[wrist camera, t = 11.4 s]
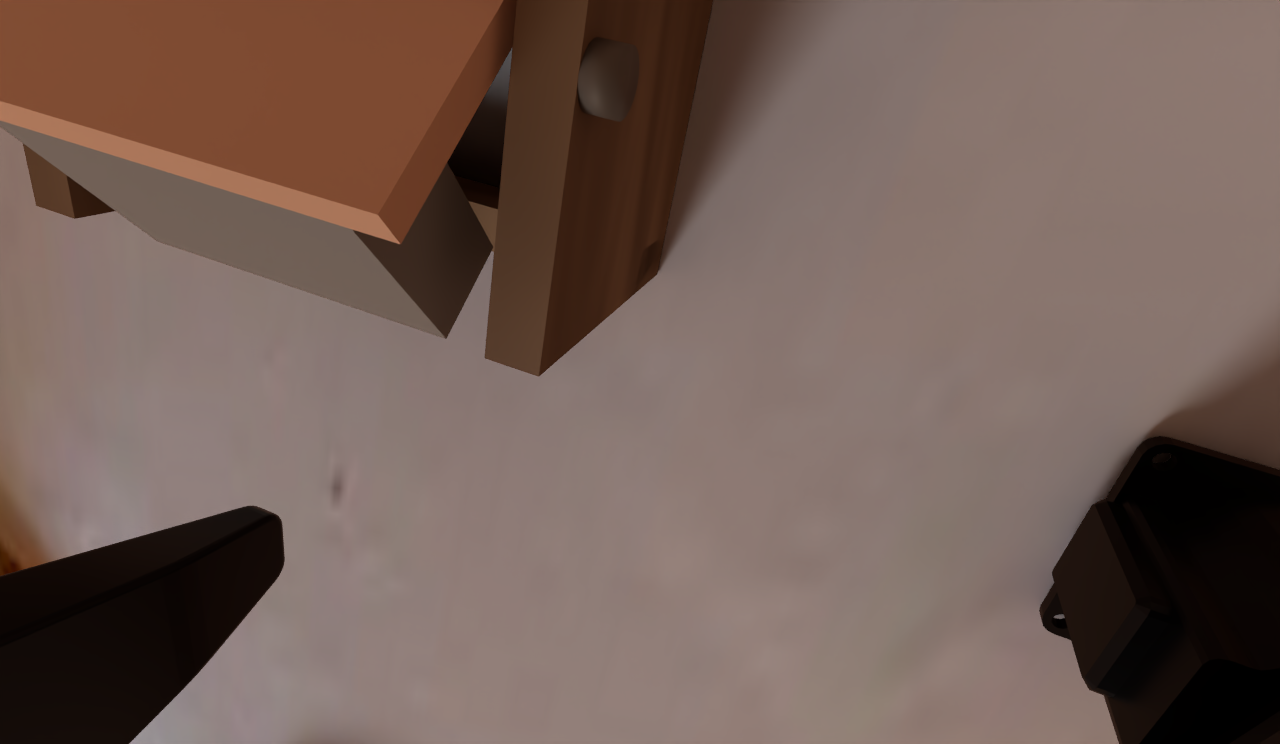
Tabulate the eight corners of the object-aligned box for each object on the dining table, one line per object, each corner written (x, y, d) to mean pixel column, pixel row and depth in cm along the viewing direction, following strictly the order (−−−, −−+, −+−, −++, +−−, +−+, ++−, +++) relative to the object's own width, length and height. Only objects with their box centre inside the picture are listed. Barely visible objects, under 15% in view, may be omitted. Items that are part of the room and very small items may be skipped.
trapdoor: (666, -14, 18) (649, -250, 13) (486, 355, 15) (377, 214, 10) (345, -77, 20) (232, -301, 16) (124, 231, 17) (-109, 67, 12)
